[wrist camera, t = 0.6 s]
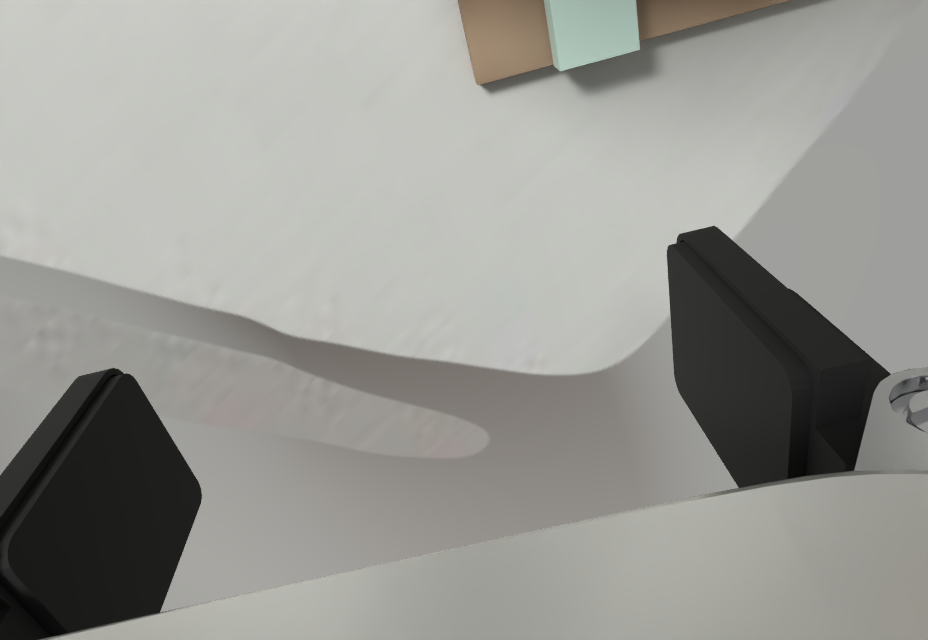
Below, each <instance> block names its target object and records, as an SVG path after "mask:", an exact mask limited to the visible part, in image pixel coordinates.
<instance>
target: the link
mask: <svg viewBox="0 0 928 640" xmlns="http://www.w3.org/2000/svg"><path fill="white" fill-rule="evenodd" d="M544 5H545V12H546V18H547V25H548V31H549V38H550V44H551V51H552V58H553V64H554V67H556V68H557V69H558V70H559V71H564V70H567V69H571V68H575V67H578V66H582V65H586V64H589V63H593V62H597V61H601V60H604V59H608V58H612V57H615V56H619V55H623V54H626V53H630V52H634V51H638V50H640V44H639V31H638V19H637V6H636V0H544Z"/></svg>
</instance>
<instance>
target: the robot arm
mask: <svg viewBox="0 0 928 640" xmlns="http://www.w3.org/2000/svg"><path fill="white" fill-rule="evenodd" d="M667 263H668V279H669V296H670V312H671V328H672V344H673V362H674V375H675V381H676V385H677V388H678V390H679V393H680V395H681V396H682V398H683V400H684V401H685V403H686V404H687V406H688V407H689V409H690V410H691V412H692V414H693V415H694V417H695V419H696V420H697V422H698V423H699V425H700V427H701V428H702V430H703V431H704V433H705V434H706V436H707V437H708V439H709V441H710V443H711V444H712V446H713V447H714V449H715V450H716V452H717V454H718V455H719V457H720V458H721V460H722V462H723V463H724V465H725V466H726V468H727V470H728V471H729V473H730V474H731V476H732V478H733V479H734V481H735V482H736V484H737V485H738V487H739V488H737V489H731V490H726V491H721V492H715V493H709V494H704V495H699V496H694V497H690V498H685V499H681V500H676V501H671V502H666V503H662V504H657V505H653V506H648V507H643V508H639V509H634V510H629V511H625V512H619V513H615V514H611V515H606V516H601V517H596V518H592V519H587V520H582V521H577V522H573V523H568V524H563V525H559V526H554V527H549V528H544V529H540V530H536V531H530V532H526V533H522V534H516V535H512V536H507V537H503V538H498V539H494V540H489V541H484V542H480V543H475V544H471V545H466V546H461V547H457V548H453V549H448V550H443V551H439V552H434V553H429V554H425V555H420V556H416V557H411V558H406V559H402V560H397V561H393V562H388V563H384V564H379V565H374V566H371V567H365V568H361V569H357V570H352V571H347V572H343V573H338V574H333V575H329V576H324V577H320V578H315V579H311V580H306V581H301V582H297V583H293V584H288V585H283V586H279V587H274V588H270V589H265V590H260V591H256V592H251V593H247V594H242V595H238V596H233V597H228V598H224V599H219V600H215V601H210V602H206V603H202V604H197V605H192V606H187V607H183V608H179V609H174V610H169V611H165V612H161V613H160V610H161V608H162V605H163V603H164V600H165V597H166V595H167V592H168V589H169V587H170V584H171V581H172V579H173V576H174V573H175V571H176V568H177V565H178V562H179V560H180V557H181V555H182V552H183V549H184V547H185V544H186V541H187V539H188V536H189V533H190V531H191V528H192V525H193V523H194V520H195V517H196V515H197V512H198V509H199V507H200V504H201V498H202V494H201V488H200V485H199V483H198V481H197V479H196V477H195V476H194V474H193V472H192V471H191V469H190V467H189V466H188V464H187V463H186V461H185V459H184V458H183V456H182V455H181V453H180V451H179V450H178V448H177V446H176V445H175V443H174V441H173V440H172V438H171V436H170V435H169V433H168V432H167V430H166V428H165V427H164V425H163V423H162V422H161V420H160V418H159V417H158V415H157V414H156V412H155V410H154V409H153V407H152V405H151V404H150V402H149V400H148V399H147V397H146V396H145V394H144V392H143V391H142V389H141V387H140V386H139V384H138V383H137V381H136V380H135V378H134V377H133V376H131V375H130V374H124V373H123V372H121V371H120V370H119V369H115V368H112V369H108V370H104V371H99V372H95V373H91V374H87V375H82V376H79V377H78V378H77V379H76V380H75V381H74V382H73V383H72V384H71V386H70V387H69V388H68V390H67V391H66V392H65V393H64V395H63V396H62V397H61V399H60V400H59V401H58V402H57V404H56V405H55V406H54V407H53V409H52V410H51V412H50V413H49V414H48V415H47V416H46V418H45V419H44V420H43V422H42V423H41V424H40V426H39V427H38V428H37V429H36V431H35V432H34V433H33V434H32V436H31V437H30V438H29V439H28V441H27V442H26V443H25V445H24V446H23V447H22V448H21V450H20V451H19V452H18V454H17V455H16V456H15V457H14V459H13V460H12V461H11V462H10V464H9V465H8V466H7V468H6V469H5V470H4V471H3V473H2V474H1V475H0V640H928V368H916V369H908V370H904V371H901V372H897V373H894V374H890V373H889V372H888V371H886V369H884V368H883V367H882V366H881V365H880V364H879V363H877V362H876V361H875V360H874V359H873V358H871V357H870V356H869V355H868V354H867V353H865V351H863V350H862V349H861V348H860V347H859V346H858V345H856V344H855V343H854V342H853V341H852V340H850V339H849V338H848V337H847V336H846V335H845V334H844V333H842V332H841V331H840V330H839V329H838V328H837V327H835V326H834V325H833V324H832V323H831V322H830V321H828V320H827V319H826V318H825V317H824V316H823V315H821V314H820V313H819V312H818V311H817V310H816V309H814V308H813V307H812V306H811V305H810V304H809V303H808V302H806V301H805V300H804V299H803V298H802V297H800V296H799V295H798V294H797V293H795V292H794V291H792V290H791V289H788V288H786V287H785V286H784V285H783V284H782V283H781V282H779V281H778V280H777V279H776V278H775V277H774V276H773V275H771V274H770V273H769V272H768V271H767V270H766V269H764V268H763V267H762V266H761V265H760V264H759V263H758V262H756V261H755V260H754V259H753V258H752V257H751V256H750V255H748V254H747V253H746V252H745V251H744V250H743V249H742V248H740V247H739V246H738V245H737V244H736V243H735V242H733V241H732V240H731V239H730V238H729V237H728V236H727V235H725V234H724V233H723V232H722V231H721V230H720V229H718V228H717V227H715V226H712V227H707V228H703V229H699V230H695V231H690V232H686V233H682V234H679V236H678V237H677V244H672V245H669V246H668V249H667Z"/></svg>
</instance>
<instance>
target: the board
mask: <svg viewBox="0 0 928 640" xmlns="http://www.w3.org/2000/svg"><path fill="white" fill-rule="evenodd" d="M786 1H790V0H636V6H637V19H638V31H639V41H642V40H646V39H650V38H653V37H657V36H661V35H664V34H668V33H672V32H675V31H679V30H683V29H687V28H690V27H694V26H698V25H701V24H705V23H709V22H712V21H716V20H720V19H723V18H727V17H731V16H734V15H738V14H742V13H745V12H749V11H753V10H757V9H760V8H764V7H768V6H771V5H775V4H779V3H782V2H786ZM458 4H459V9H460V13H461V18H462V22H463V27H464V31H465V36H466V41H467V45H468V50H469V54H470V59H471V63H472V68H473V73H474V77H475V81H476V83H477V85H480V84H484V83H488V82H491V81H495V80H499V79H502V78H506V77H510V76H513V75H517V74H521V73H524V72H528V71H532V70H535V69H539V68H543V67H546V66H550V65H554V64H553V58H552V51H551V44H550V38H549V31H548V25H547V18H546V12H545V5H544V0H458Z"/></svg>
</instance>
